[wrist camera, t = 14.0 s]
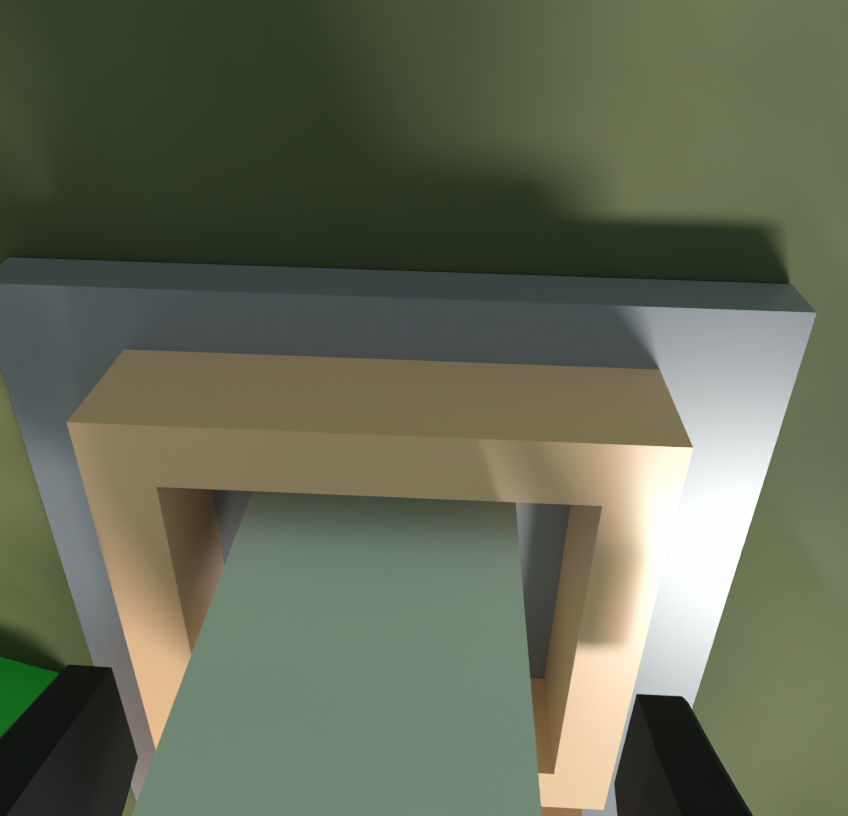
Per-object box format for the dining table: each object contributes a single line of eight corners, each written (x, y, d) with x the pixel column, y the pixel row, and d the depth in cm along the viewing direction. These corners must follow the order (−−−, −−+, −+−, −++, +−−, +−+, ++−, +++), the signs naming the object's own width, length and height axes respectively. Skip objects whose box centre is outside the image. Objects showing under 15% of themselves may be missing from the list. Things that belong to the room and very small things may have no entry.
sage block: (512, 465, 13) (553, 955, 7) (494, 637, 15) (513, 1122, 9) (265, 454, 13) (89, 927, 7) (283, 626, 15) (162, 1097, 9)
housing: (790, 284, 12) (880, 385, 9) (603, 930, 22) (621, 1059, 20) (8, 257, 12) (-114, 347, 10) (191, 906, 23) (156, 1030, 20)
